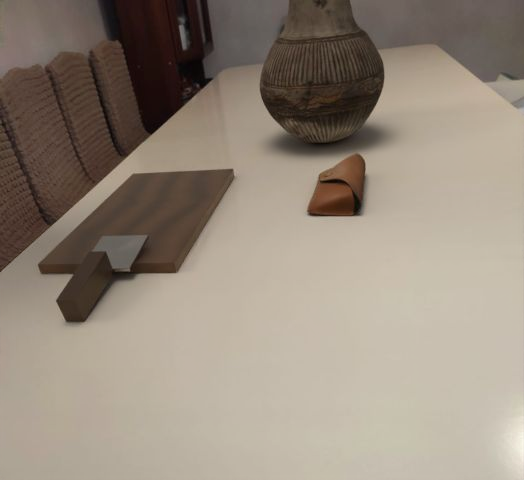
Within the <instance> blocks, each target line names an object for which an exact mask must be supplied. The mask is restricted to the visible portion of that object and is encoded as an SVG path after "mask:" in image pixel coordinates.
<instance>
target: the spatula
mask: <svg viewBox="0 0 524 480" xmlns="http://www.w3.org/2000/svg"><path fill="white" fill-rule="evenodd" d="M148 239H149V237H148V235H128V236H102V237H101V239H100V240H99V242H98V243H97V245H96V246H95V248H94V249H93V251H92V252H88V254H87V255H86V257H85V258H84V260H83V261H82V263H81V264H80V266H79V267H78V269H77V270H76V271H75V273H73V275H72V276H71V277H70V279H69V281H67V283H66V285H65V286H64V288H62V290H61V292H60V293H59V295H58V296H57V298H56V299H55V302H56V305H57V306H58V308H59V310H60V312H61V314H62V316H63V317H64V320H65V322H78V323H79V322H85V321H86V320H87V318H88V316H89V315H90V313H91V311H92V309H93V307H94V306H95V304H96V303H97V301H98V299H99V297H100V296H101V295H102V293H103V291H104V289H105V287H106V286H107V284H108V282H109V281H110V279H111V277H112V276H113V274H114V273H113V272H114V271H131V269H132V267H133V265H134V264H135V262H136V260H137V258H138V257H139V255H140V253H141V251H142V249H143V248H144V246H145V244H146V242H147V240H148Z"/></svg>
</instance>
